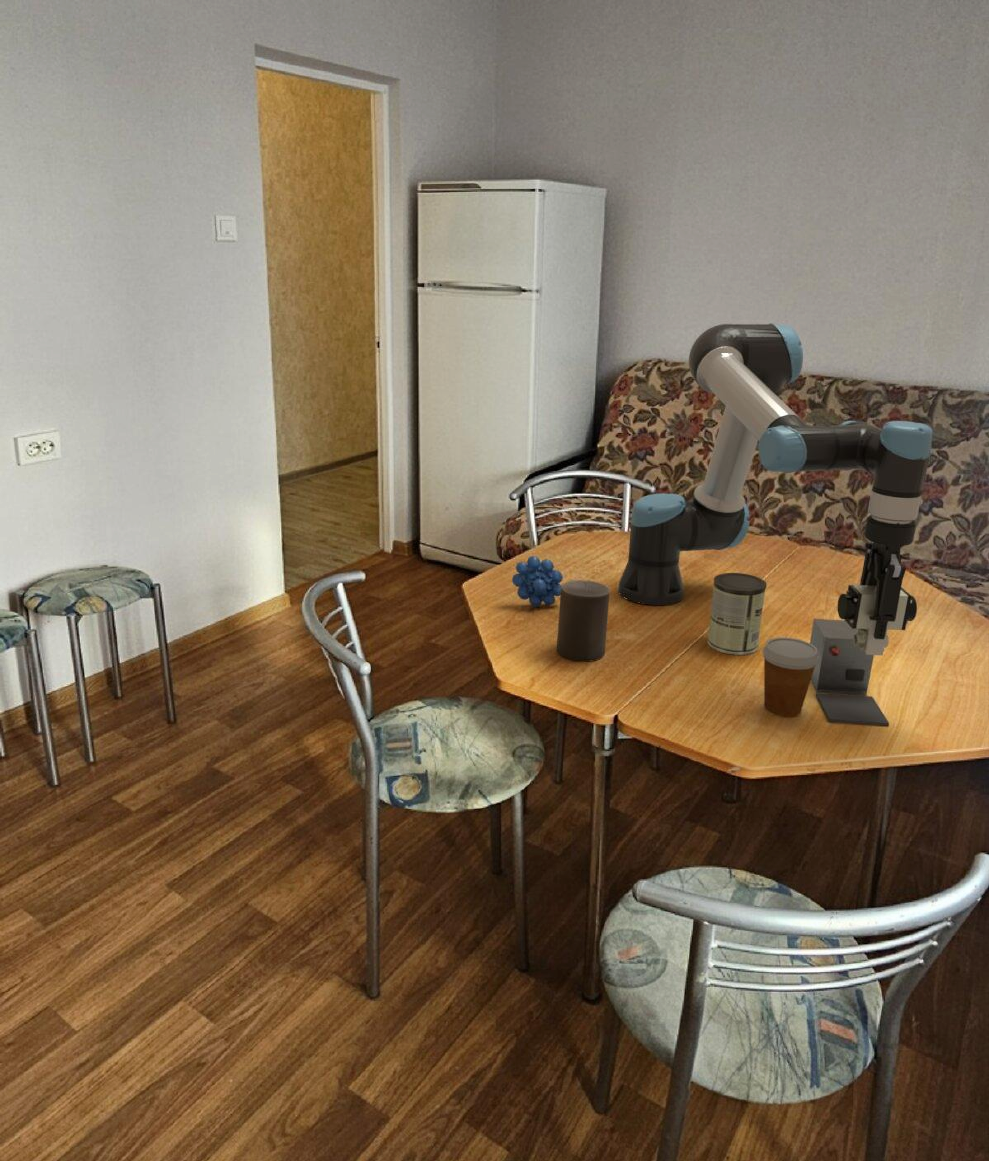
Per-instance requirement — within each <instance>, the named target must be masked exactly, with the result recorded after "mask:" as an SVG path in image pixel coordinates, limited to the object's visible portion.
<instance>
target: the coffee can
mask: <svg viewBox="0 0 989 1161" xmlns="http://www.w3.org/2000/svg"><path fill="white" fill-rule="evenodd" d="M766 589H767V581H765V580H764V579H763V578H761V577H758V576H755V575H753V574H747V573H740V572H725V573H720V574H718V575H715V576H714V578H713V591H712V598H711V600H712V601H711V610H710V617H709V618H710V619H709V627H708V637H707V641H706V642H707V645H708V644H709V645H708V646H709V648H711V649H713V650H714V649H715V650H714V651H717V652H719V651H720V652H719V653H723V654H727V655H733V654H734V655H736V656H745V655H751V654H754V653H756V651H758V648H759V640H760V632H761V624H762V617H763V609H764V601H765V593H766ZM734 655H733V656H734Z"/></svg>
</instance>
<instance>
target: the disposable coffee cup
mask: <svg viewBox="0 0 989 1161" xmlns="http://www.w3.org/2000/svg"><path fill="white" fill-rule="evenodd" d="M761 653H762V656H763V660H764V663H763V666H764V670H763V672H764V673H763V674H764V676H763V677H764V681H763V682H764V685H763V686H764V688H763V690H764V691H763V692H764V694H763V696H764V697H763V698H764V700H763V703H764V705H763V706H764V709H765V710H766V711H767V712H768V713H770V714H773V716H778V717H783V718H794V717H797V716H800V715H801V713H802V710H803V705H804V703H805V700H806V697H807V694H808V690H809V686H810V684H811V678H812V674H813V671H814V668H815V666H816V665H817V663H818V661H819V655H818V651H817V648H816V647H815V646H813V645H812V644H810V642H808V641H806V640H802V639H799V638H794V637H793V638H792V637H774V638H770V639H769V640H767V641H766V643H765V644H764V647H763V648H762V651H761Z"/></svg>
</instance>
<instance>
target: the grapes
mask: <svg viewBox="0 0 989 1161" xmlns="http://www.w3.org/2000/svg"><path fill="white" fill-rule="evenodd" d="M526 562H527V563H526ZM526 562H525V561H519V562H517V564H516V566H515V569H516V572H517V573H515V574H513V575H512V579H511V580H512V581H511V582H512V584H513V585H514V586H515V587H517V588H518V589H517V592H516V593H517V596H518V597H519V598H520V599H521V600H528V601H529V604H531V606H533V607H540V606H541V605H542V603H543V604H545V605H547V606H552V605H553V604H555V601H556V598H555V597H559V596H561V586H562V584H560V583H561V582H562V581H563V578H564V577H563V573H561V571H560V570H558V569H554V568H555V566H554V563H553V562H552V561H551V560H550V559H547V558H546V559H543V560H540V559H539V557H538V556H534V555H531V556H529V557H528V558H527V560H526Z"/></svg>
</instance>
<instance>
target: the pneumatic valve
mask: <svg viewBox="0 0 989 1161" xmlns="http://www.w3.org/2000/svg"><path fill="white" fill-rule="evenodd" d="M876 587H877V586H867V585H860V584H858V585H857V584H848V587H847V589H846V591H845V593H841V594H840V595H839V597H838V600H837V614H838V618H839V619H840V620H845V621H846V622H847V623H848V624H849V625H850V627H851V628H852V629H857V631H858V632H859V633H855V634H854V636H853V643H854V645H855V646H856V647H860V651H862V652H865V650H866V644H867V638H868V633H869V629H870V625H871V620H870V619H869V616H874V611H875V603H876V597H877V595H876ZM917 606H918V605H917V600H916V598H915V597H914V596H913V595H911V594H910V593H909V592H907V590H905V589H904V588H903V587H902V586H901V591H900V597H899V602H898V608H897V613H896V619H895V621H894V622H891V621H889V624H888V629H887V631H888V630H889V631H891V630H892V631H893V630H894V631H906V627H907V625H908V624H909V622H912V621H913V622H914V620H915V618H916V616H917V612H918V607H917ZM889 640H890V639H889V635H888V634H887V635H886V640H885V645H884V649H885V648H887V647H888V646H889V642H890V641H889Z"/></svg>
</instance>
